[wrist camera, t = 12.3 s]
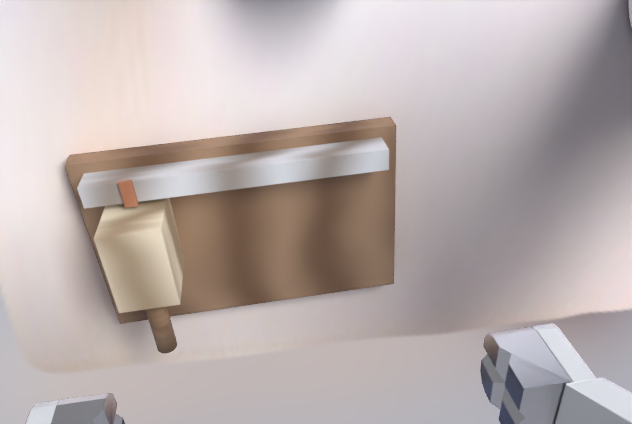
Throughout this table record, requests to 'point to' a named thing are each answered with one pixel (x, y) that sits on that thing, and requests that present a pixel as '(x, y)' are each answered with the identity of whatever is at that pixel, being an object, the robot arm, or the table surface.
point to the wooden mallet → (143, 262)
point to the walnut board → (260, 210)
